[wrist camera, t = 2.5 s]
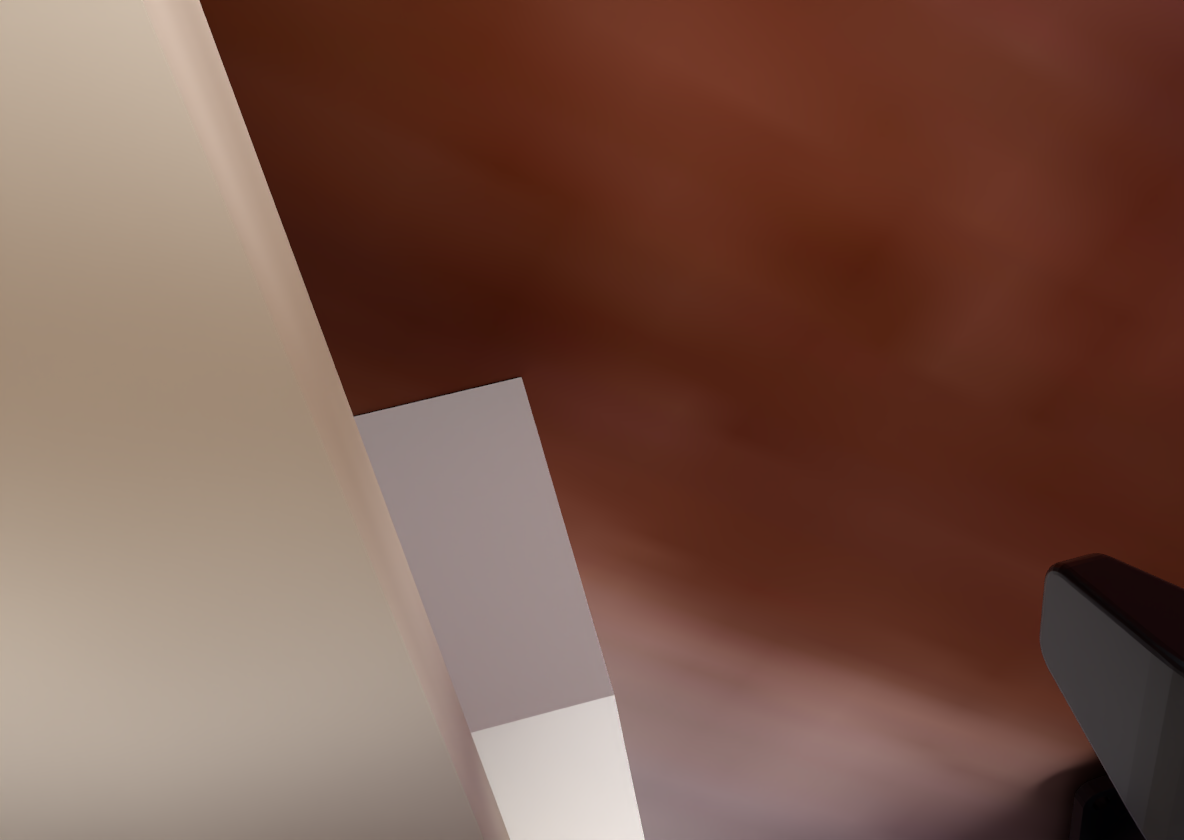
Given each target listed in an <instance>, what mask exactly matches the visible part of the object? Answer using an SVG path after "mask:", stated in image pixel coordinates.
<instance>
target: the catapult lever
mask: <svg viewBox="0 0 1184 840" xmlns="http://www.w3.org/2000/svg"><path fill="white" fill-rule="evenodd" d="M0 840H510V838H509V835H508V832H507V829H506V827H505V824H504V821H503V819H502V816H501V813H500V811H499V808H498V805H497V802H496V800H495V797H494V794H493V792H492V789H491V786H490V784H489V781H488V778H487V776H486V773H485V770H484V767H483V765H482V762H481V759H480V757H479V754H478V751H477V749H476V746H475V743H474V740H473V738H472V735H471V732H470V730H469V727H468V724H467V722H466V719H465V716H464V713H463V711H462V708H461V705H460V703H459V700H458V697H457V695H456V692H455V689H454V687H453V684H452V681H451V678H450V676H449V673H448V670H447V668H446V665H445V662H444V660H443V657H442V654H441V651H440V649H439V646H438V643H437V641H436V638H435V635H434V633H433V630H432V627H431V624H430V622H429V619H428V616H427V614H426V611H425V608H424V606H423V603H422V600H421V598H420V595H419V592H418V589H417V587H416V584H415V581H414V579H413V576H412V573H411V571H410V568H409V565H408V562H407V560H406V557H405V554H404V552H403V549H402V546H401V544H400V541H399V538H398V535H397V533H396V530H395V527H394V525H393V522H392V519H391V517H390V514H389V511H388V509H387V506H386V503H385V500H384V498H383V495H382V492H381V490H380V487H379V484H378V482H377V479H376V476H375V473H374V471H373V468H372V465H371V463H370V460H369V457H368V455H367V452H366V449H365V446H364V444H363V441H362V438H361V436H360V433H359V430H358V428H357V425H356V422H355V420H354V417H353V414H352V411H351V409H350V406H349V403H348V401H347V398H346V395H345V393H344V390H343V387H342V384H341V382H340V379H339V376H338V374H337V371H336V368H335V366H334V363H333V360H332V357H331V355H330V352H329V349H328V347H327V344H326V341H325V339H324V336H323V333H322V331H321V328H320V325H319V322H318V320H317V317H316V314H315V312H314V309H313V306H312V304H311V301H310V298H309V295H308V293H307V290H306V287H305V285H304V282H303V279H302V277H301V274H300V271H299V268H298V266H297V263H296V260H295V258H294V255H293V252H292V250H291V247H290V244H289V242H288V239H287V236H286V233H285V231H284V228H283V225H282V223H281V220H280V217H279V215H278V212H277V209H276V206H275V204H274V201H273V198H272V196H271V193H270V190H269V188H268V185H267V182H266V179H265V177H264V174H263V171H262V169H261V166H260V163H259V161H258V158H257V155H256V153H255V150H254V147H253V144H252V142H251V139H250V136H249V134H248V131H247V128H246V126H245V123H244V120H243V117H242V115H241V112H240V109H239V107H238V104H237V101H236V99H235V96H234V93H233V90H232V88H231V85H230V82H229V80H228V77H227V74H226V72H225V69H224V66H223V64H222V61H221V58H220V55H219V53H218V50H217V47H216V45H215V42H214V39H213V37H212V34H211V31H210V28H209V26H208V23H207V20H206V18H205V15H204V12H203V10H202V7H201V4H200V1H199V0H0Z"/></svg>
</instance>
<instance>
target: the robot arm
mask: <svg viewBox="0 0 1184 840" xmlns="http://www.w3.org/2000/svg"><path fill="white" fill-rule="evenodd" d="M1040 646H1041V650H1042V654H1043V657H1044V660H1045V662H1046V665H1047V667H1048V669H1049V671H1050V672H1051V674H1052V676H1053V678H1054V680H1055V681H1056V683H1057V685H1058V687H1059V688H1060V690H1061V692H1062V694H1063V696H1064V697H1065V699H1066V701H1067V703H1068V705H1069V706H1070V708H1071V710H1072V712H1073V713H1074V715H1075V717H1076V719H1077V721H1078V722H1079V724H1080V726H1081V728H1082V730H1083V731H1084V733H1085V735H1086V737H1087V739H1088V740H1089V742H1090V744H1091V746H1092V747H1093V749H1094V751H1095V753H1096V755H1097V756H1098V758H1099V760H1100V762H1101V764H1102V765H1103V767H1104V769H1105V771H1106V772H1107V774H1108V775H1106V776H1102V777H1099V778H1095V779H1092V780H1090V781H1087V782H1086V783H1084V784H1083V785H1082V786H1080V787H1079V789H1078V790H1077V791H1076V793H1075V796H1074V803H1073V811H1072V819H1071V827H1070V835H1069V840H1184V589H1183V588H1181V587H1179V586H1176V585H1174V584H1172V583H1170V582H1167V581H1165V580H1163V579H1160V578H1158V577H1156V576H1154V575H1151V574H1149V573H1147V572H1145V571H1142V570H1140V569H1138V568H1135V567H1133V566H1131V565H1129V564H1126V563H1124V562H1122V561H1120V560H1117V559H1115V558H1113V557H1110V556H1107V555H1104V554H1099V553H1093V554H1088V555H1084V556H1080V557H1077V558H1073V559H1069V560H1066V561H1062V562H1058V563H1056V564H1054V565H1052V566H1051V567H1050V568H1049V570H1048V571H1047V573H1046V577H1045V583H1044V594H1043V605H1042V615H1041V626H1040Z"/></svg>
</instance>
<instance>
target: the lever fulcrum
mask: <svg viewBox="0 0 1184 840" xmlns="http://www.w3.org/2000/svg"><path fill="white" fill-rule="evenodd" d="M354 420H355V422H356V425H357V428H358V430H359V433H360V436H361V438H362V441H363V444H364V446H365V449H366V452H367V455H368V457H369V460H370V463H371V465H372V468H373V471H374V473H375V476H376V479H377V482H378V484H379V487H380V490H381V492H382V495H383V498H384V500H385V503H386V506H387V509H388V511H389V514H390V517H391V519H392V522H393V525H394V527H395V530H396V533H397V535H398V538H399V541H400V544H401V546H402V549H403V552H404V554H405V557H406V560H407V562H408V565H409V568H410V571H411V573H412V576H413V579H414V581H415V584H416V587H417V589H418V592H419V595H420V598H421V600H422V603H423V606H424V608H425V611H426V614H427V616H428V619H429V622H430V624H431V627H432V630H433V633H434V635H435V638H436V641H437V643H438V646H439V649H440V651H441V654H442V657H443V660H444V662H445V665H446V668H447V670H448V673H449V676H450V678H451V681H452V684H453V687H454V689H455V692H456V695H457V697H458V700H459V703H460V705H461V708H462V711H463V713H464V716H465V719H466V722H467V724H468V727H469V730H470V732H471V735H472V738H473V740H474V743H475V746H476V749H477V751H478V754H479V757H480V759H481V762H482V765H483V767H484V770H485V773H486V776H487V778H488V781H489V784H490V786H491V789H492V792H493V794H494V797H495V800H496V802H497V805H498V808H499V811H500V813H501V816H502V819H503V821H504V824H505V827H506V829H507V832H508V835H509V838H510V840H644V835H643V830H642V825H641V820H640V816H639V811H638V806H637V801H636V796H635V792H634V787H633V782H632V777H631V772H630V768H629V763H628V758H627V753H626V748H625V744H624V739H623V734H622V729H621V724H620V720H619V715H618V710H617V705H616V700H615V696H614V692H613V689H612V685H611V682H610V678H609V675H608V671H607V668H606V665H605V661H604V658H603V654H602V651H601V648H600V644H599V641H598V637H597V634H596V630H595V627H594V624H593V620H592V617H591V613H590V610H589V607H588V603H587V600H586V596H585V593H584V589H583V586H582V583H581V579H580V576H579V572H578V569H577V565H576V562H575V559H574V555H573V552H572V548H571V545H570V542H569V538H568V535H567V531H566V528H565V524H564V521H563V518H562V514H561V511H560V507H559V504H558V501H557V497H556V494H555V490H554V487H553V483H552V480H551V477H550V473H549V470H548V466H547V463H546V460H545V456H544V453H543V449H542V446H541V442H540V439H539V436H538V432H537V429H536V425H535V422H534V419H533V415H532V412H531V408H530V405H529V401H528V398H527V395H526V391H525V388H524V384H523V381H522V377H520V378H515V379H511V380H507V381H503V382H498V383H494V384H490V385H486V386H482V387H477V388H473V389H469V390H465V391H460V392H456V393H452V394H448V395H444V396H439V397H435V398H431V399H427V400H422V401H418V402H414V403H410V404H405V405H401V406H397V407H393V408H389V409H384V410H380V411H376V412H372V413H367V414H363V415H359V416H355V417H354Z"/></svg>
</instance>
